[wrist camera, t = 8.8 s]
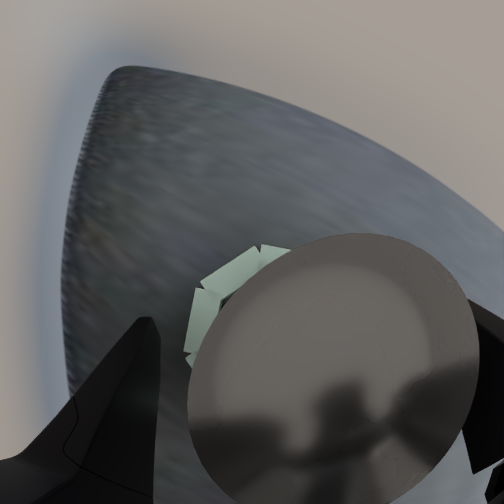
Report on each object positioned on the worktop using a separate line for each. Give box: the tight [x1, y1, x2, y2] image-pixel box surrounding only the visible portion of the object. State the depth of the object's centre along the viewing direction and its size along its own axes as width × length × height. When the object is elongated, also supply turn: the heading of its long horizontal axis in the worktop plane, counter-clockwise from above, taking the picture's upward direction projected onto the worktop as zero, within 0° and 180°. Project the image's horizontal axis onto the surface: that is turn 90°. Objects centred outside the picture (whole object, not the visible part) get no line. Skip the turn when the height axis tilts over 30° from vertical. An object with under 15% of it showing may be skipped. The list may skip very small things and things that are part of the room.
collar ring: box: [184, 244, 291, 368], centre depth 15 cm, size 10×10×2 cm
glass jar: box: [187, 233, 479, 504], centre depth 10 cm, size 5×5×13 cm
